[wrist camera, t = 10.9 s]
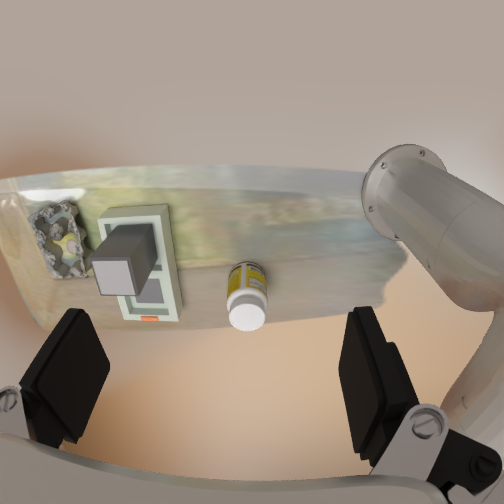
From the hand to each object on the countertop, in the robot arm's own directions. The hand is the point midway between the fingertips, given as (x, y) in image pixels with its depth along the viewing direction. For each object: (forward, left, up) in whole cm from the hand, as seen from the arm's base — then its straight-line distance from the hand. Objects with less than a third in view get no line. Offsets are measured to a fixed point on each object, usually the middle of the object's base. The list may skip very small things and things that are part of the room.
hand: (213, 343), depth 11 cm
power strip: (+2, +17, -27) cm, 32 cm away
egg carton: (+14, +22, -28) cm, 38 cm away
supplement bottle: (-10, +11, -28) cm, 31 cm away
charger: (+4, +14, -25) cm, 29 cm away
